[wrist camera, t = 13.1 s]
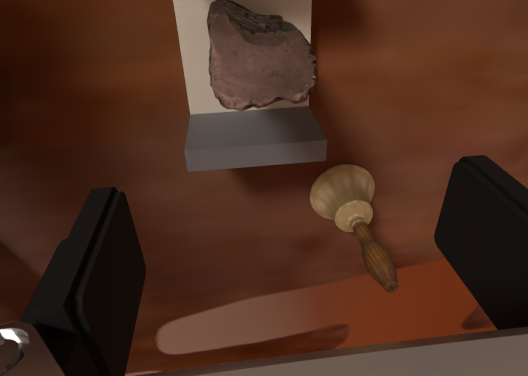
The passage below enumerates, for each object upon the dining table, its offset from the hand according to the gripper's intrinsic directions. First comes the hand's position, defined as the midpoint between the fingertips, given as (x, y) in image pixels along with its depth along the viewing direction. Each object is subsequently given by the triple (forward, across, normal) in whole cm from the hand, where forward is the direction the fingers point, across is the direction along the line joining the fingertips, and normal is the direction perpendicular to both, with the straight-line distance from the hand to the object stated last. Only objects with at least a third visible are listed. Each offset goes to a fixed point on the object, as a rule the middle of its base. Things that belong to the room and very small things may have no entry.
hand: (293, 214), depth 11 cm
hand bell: (+30, -12, +20) cm, 38 cm away
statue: (+28, 0, 0) cm, 28 cm away
